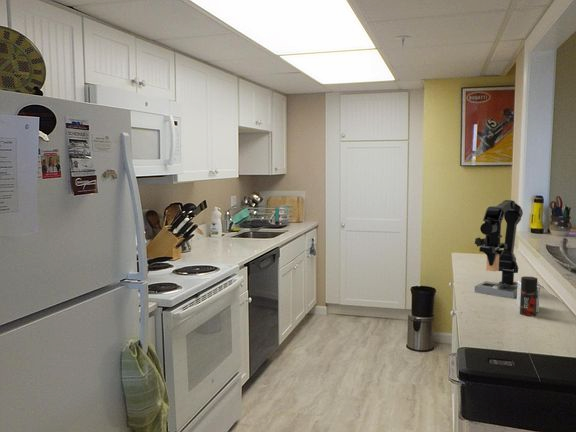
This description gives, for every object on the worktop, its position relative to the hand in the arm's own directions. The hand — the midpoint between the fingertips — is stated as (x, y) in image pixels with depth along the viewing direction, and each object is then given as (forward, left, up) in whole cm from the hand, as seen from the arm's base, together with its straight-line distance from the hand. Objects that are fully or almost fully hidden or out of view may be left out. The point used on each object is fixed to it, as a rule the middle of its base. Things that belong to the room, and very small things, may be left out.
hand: (492, 265), depth 248 cm
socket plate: (+2, +4, -13) cm, 13 cm away
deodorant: (+31, +26, -13) cm, 42 cm away
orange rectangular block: (0, 0, -2) cm, 3 cm away
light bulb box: (+22, +23, -13) cm, 34 cm away
